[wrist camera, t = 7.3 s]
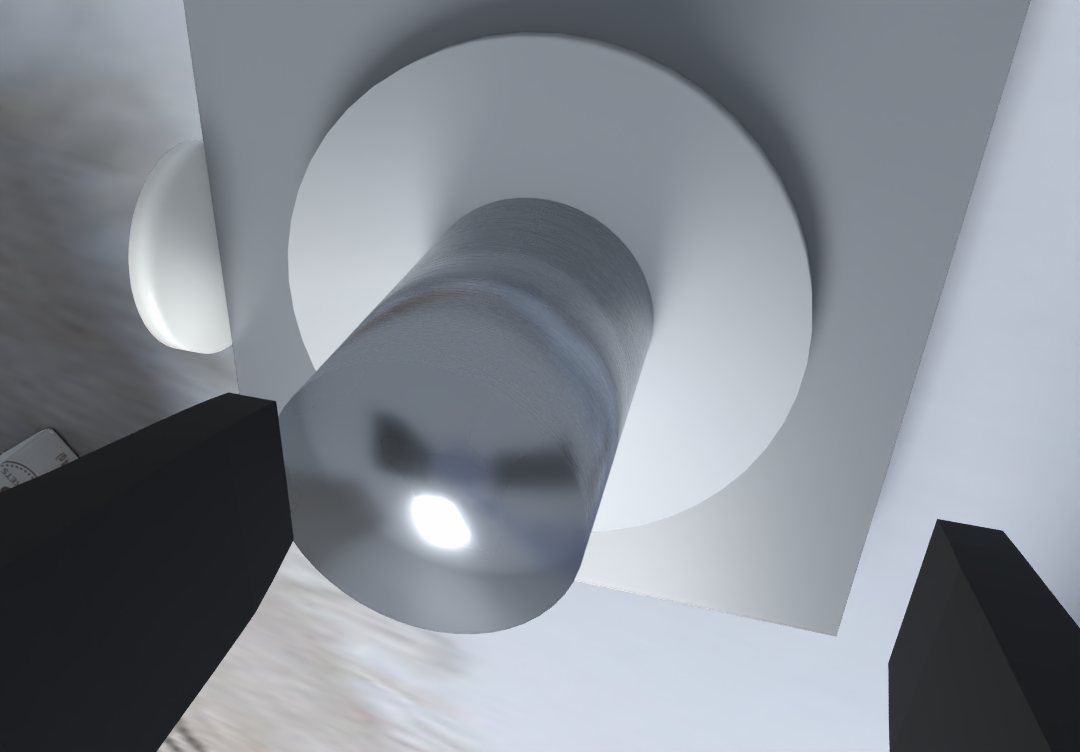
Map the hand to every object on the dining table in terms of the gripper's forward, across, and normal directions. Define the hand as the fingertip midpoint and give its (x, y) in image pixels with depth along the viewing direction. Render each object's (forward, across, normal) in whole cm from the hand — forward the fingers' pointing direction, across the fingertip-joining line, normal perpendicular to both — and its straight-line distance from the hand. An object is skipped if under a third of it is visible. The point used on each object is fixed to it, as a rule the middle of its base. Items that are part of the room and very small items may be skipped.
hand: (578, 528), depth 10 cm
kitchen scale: (+10, +2, +1) cm, 11 cm away
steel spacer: (+7, +2, +1) cm, 8 cm away
